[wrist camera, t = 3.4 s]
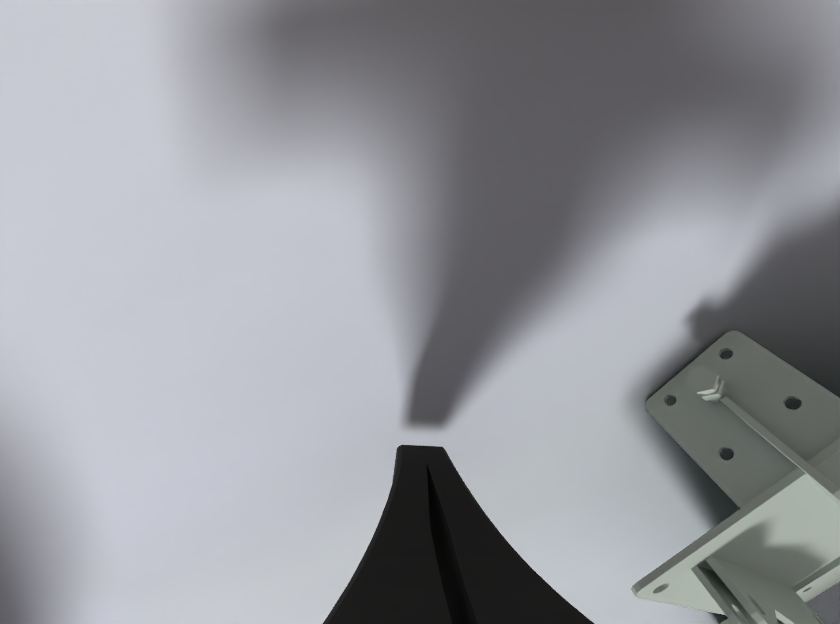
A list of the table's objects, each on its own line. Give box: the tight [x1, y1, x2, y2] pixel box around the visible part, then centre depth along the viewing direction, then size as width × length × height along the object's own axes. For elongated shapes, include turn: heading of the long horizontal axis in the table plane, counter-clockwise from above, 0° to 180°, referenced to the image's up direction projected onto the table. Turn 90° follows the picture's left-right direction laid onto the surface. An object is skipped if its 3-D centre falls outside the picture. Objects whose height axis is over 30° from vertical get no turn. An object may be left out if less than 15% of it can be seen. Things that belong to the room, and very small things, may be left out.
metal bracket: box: [631, 331, 840, 624], centre depth 15 cm, size 14×6×15 cm
